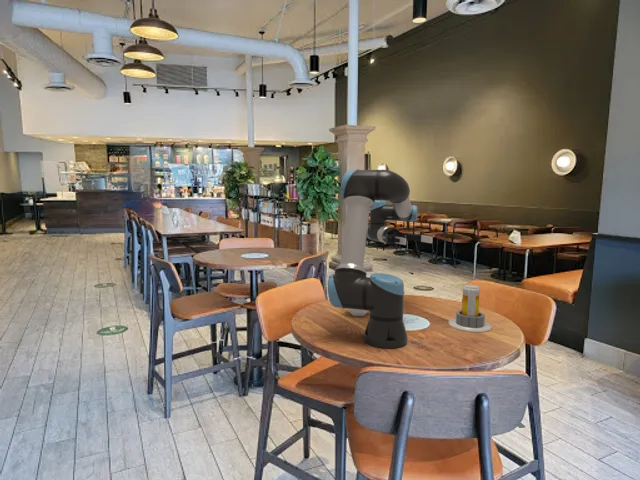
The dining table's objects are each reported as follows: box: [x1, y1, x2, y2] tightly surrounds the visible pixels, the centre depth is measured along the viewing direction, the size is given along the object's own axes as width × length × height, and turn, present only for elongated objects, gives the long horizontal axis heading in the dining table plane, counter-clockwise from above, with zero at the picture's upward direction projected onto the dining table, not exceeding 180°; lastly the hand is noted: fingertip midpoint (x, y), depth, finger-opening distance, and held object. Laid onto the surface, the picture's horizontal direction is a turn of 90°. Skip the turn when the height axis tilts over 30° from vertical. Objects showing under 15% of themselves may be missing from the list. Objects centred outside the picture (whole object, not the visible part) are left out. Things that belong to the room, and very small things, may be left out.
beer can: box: [461, 284, 481, 317], centre depth 165 cm, size 6×6×15 cm
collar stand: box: [448, 309, 493, 333], centre depth 166 cm, size 16×16×5 cm
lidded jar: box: [346, 308, 369, 317], centre depth 180 cm, size 11×11×9 cm
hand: (418, 240), depth 174 cm, fingers open, 13 cm apart
